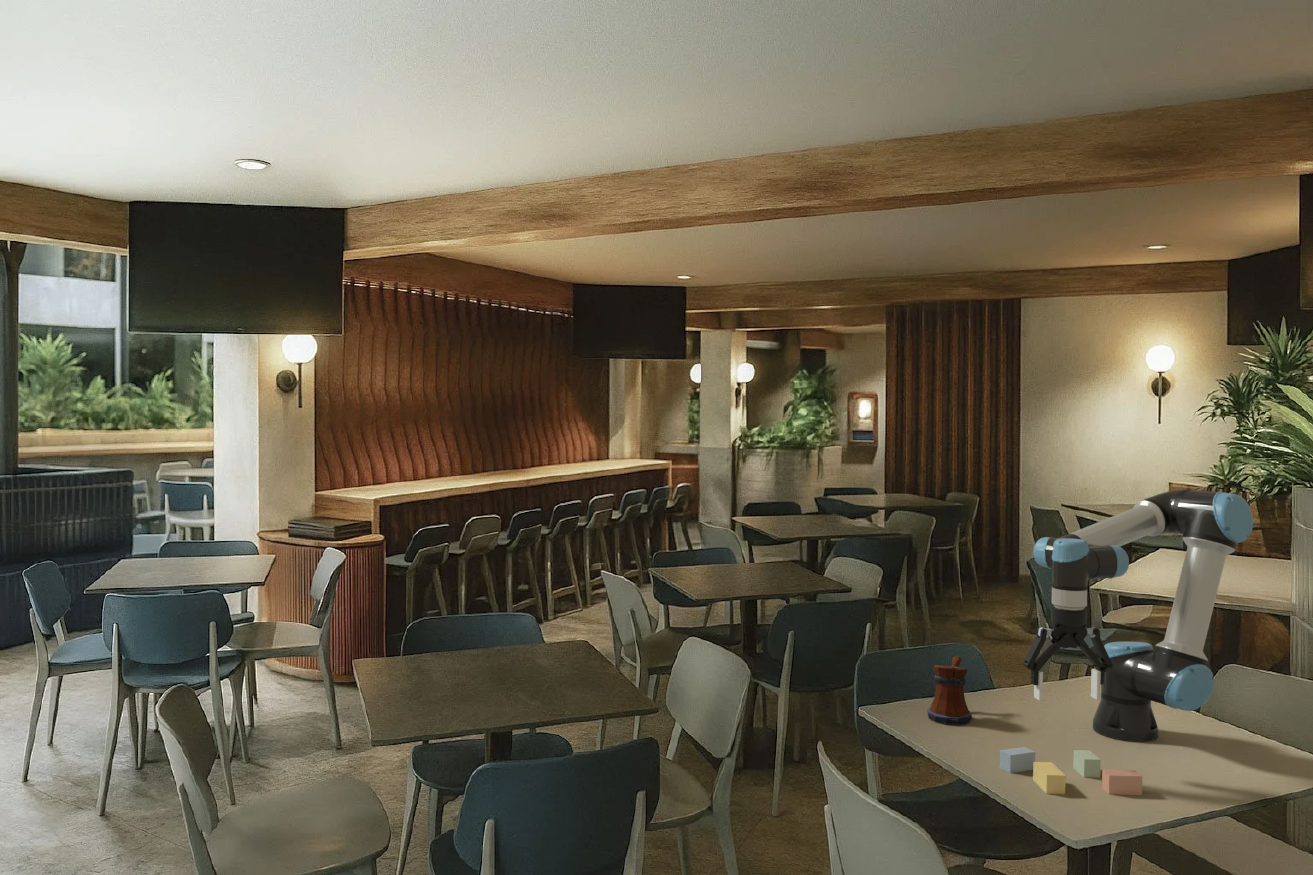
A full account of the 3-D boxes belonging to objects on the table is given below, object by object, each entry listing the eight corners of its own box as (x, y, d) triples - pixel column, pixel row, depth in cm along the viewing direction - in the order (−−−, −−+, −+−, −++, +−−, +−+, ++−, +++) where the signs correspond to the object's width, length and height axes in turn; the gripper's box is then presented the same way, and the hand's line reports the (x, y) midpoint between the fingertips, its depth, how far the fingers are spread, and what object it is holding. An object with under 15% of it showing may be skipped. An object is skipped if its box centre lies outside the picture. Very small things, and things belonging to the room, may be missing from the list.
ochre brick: (1033, 780, 223) (1033, 761, 223) (1051, 780, 223) (1051, 762, 223) (1046, 794, 215) (1046, 775, 215) (1065, 794, 215) (1065, 775, 215)
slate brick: (1024, 764, 233) (1024, 746, 233) (1034, 769, 229) (1035, 751, 229) (999, 768, 230) (999, 750, 230) (1010, 773, 227) (1010, 755, 227)
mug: (935, 703, 279) (936, 650, 279) (978, 709, 274) (979, 655, 274) (923, 721, 263) (924, 665, 263) (968, 728, 258) (969, 670, 258)
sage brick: (1073, 768, 231) (1073, 750, 231) (1088, 768, 231) (1089, 750, 231) (1084, 777, 225) (1084, 759, 225) (1100, 777, 225) (1100, 759, 225)
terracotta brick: (1134, 789, 218) (1134, 770, 218) (1141, 795, 215) (1142, 776, 215) (1101, 788, 219) (1102, 769, 218) (1108, 794, 215) (1109, 775, 215)
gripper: (1112, 603, 233) (1110, 693, 234) (1009, 603, 232) (1007, 694, 232) (1130, 609, 226) (1127, 702, 227) (1023, 610, 224) (1021, 703, 225)
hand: (1066, 698), depth 230 cm, fingers open, 13 cm apart
